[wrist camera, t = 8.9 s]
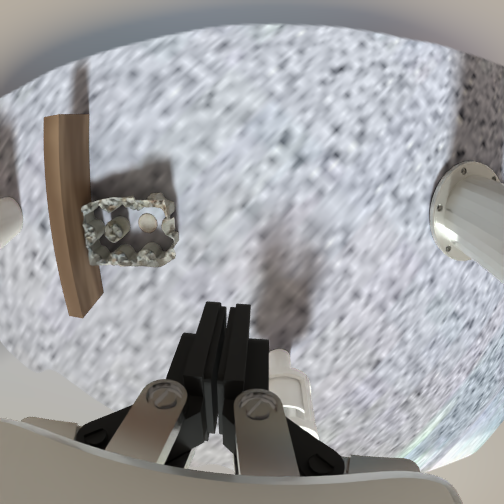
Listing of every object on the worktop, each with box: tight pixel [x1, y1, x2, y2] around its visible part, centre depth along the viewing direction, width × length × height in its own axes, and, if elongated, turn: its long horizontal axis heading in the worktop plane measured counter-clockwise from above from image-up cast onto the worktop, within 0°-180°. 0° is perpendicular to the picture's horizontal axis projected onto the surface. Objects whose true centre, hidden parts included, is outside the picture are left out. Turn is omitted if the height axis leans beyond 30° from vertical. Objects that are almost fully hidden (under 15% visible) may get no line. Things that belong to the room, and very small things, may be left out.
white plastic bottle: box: [269, 349, 319, 440], centre depth 32 cm, size 7×7×15 cm
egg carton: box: [81, 193, 179, 267], centre depth 31 cm, size 11×8×4 cm
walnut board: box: [44, 114, 104, 318], centre depth 29 cm, size 2×22×6 cm, turn 177°
